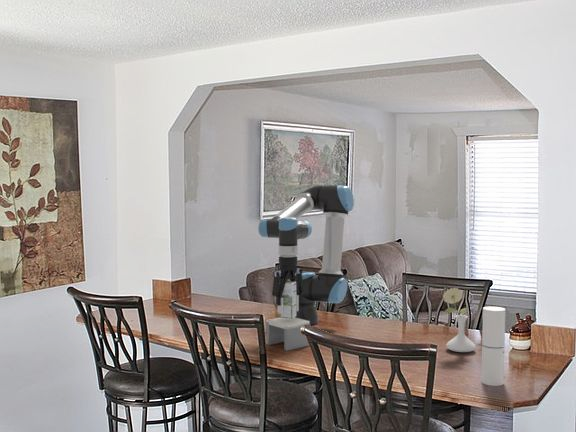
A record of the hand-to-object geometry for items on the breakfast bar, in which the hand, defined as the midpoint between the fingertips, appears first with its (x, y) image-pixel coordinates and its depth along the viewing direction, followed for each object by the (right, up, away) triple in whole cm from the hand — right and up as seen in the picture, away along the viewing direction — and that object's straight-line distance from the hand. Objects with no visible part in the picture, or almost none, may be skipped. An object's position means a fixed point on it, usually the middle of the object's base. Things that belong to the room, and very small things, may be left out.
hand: (288, 311), depth 269 cm
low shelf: (0, -14, +1) cm, 14 cm away
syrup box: (0, -2, 0) cm, 2 cm away
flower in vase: (+67, -14, -7) cm, 69 cm away
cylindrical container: (+69, -17, -47) cm, 85 cm away
